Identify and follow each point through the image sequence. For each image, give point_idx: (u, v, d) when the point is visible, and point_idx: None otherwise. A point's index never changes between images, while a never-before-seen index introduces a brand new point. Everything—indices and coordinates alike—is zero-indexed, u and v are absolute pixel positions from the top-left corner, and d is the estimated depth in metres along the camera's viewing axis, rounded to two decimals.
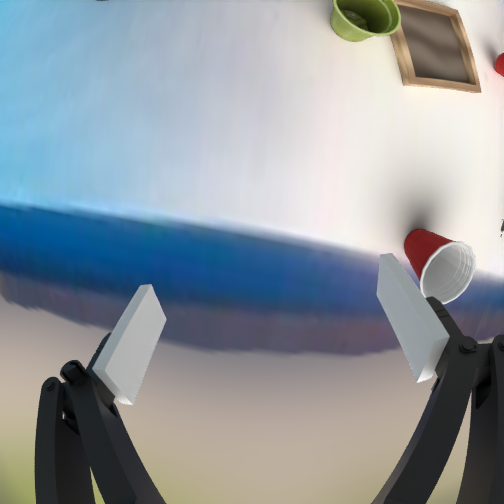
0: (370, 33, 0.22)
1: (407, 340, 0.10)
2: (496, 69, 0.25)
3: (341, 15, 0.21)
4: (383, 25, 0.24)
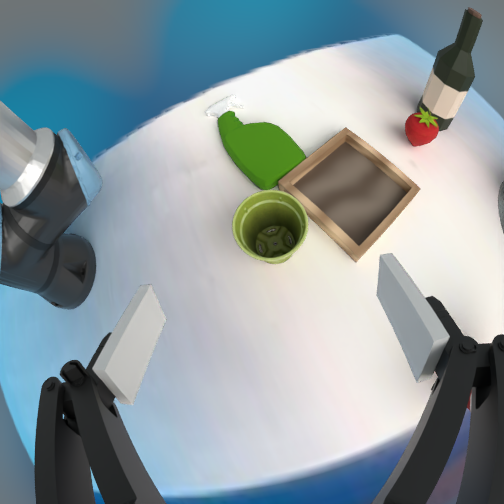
0: (288, 254, 0.32)
1: (407, 340, 0.10)
2: (414, 145, 0.42)
3: (253, 256, 0.33)
4: (298, 226, 0.36)
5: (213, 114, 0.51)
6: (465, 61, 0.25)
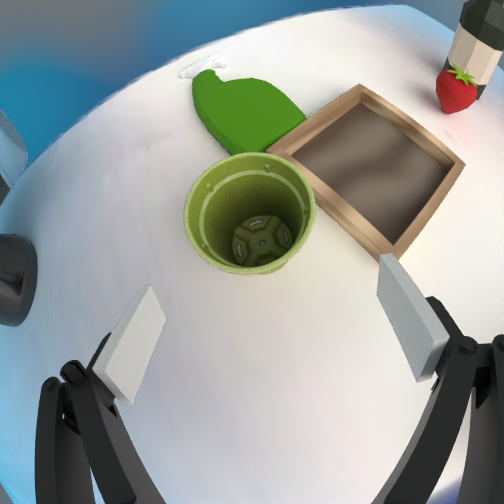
0: (279, 262, 0.17)
1: (407, 340, 0.10)
2: (447, 111, 0.27)
3: (217, 266, 0.18)
4: (297, 212, 0.22)
5: (189, 75, 0.36)
6: (499, 13, 0.11)
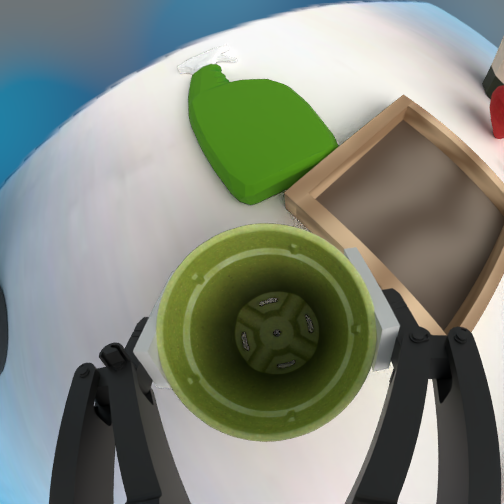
0: (313, 427, 0.09)
1: None
2: (500, 136, 0.19)
3: (214, 425, 0.10)
4: (336, 315, 0.13)
5: (188, 70, 0.28)
6: None
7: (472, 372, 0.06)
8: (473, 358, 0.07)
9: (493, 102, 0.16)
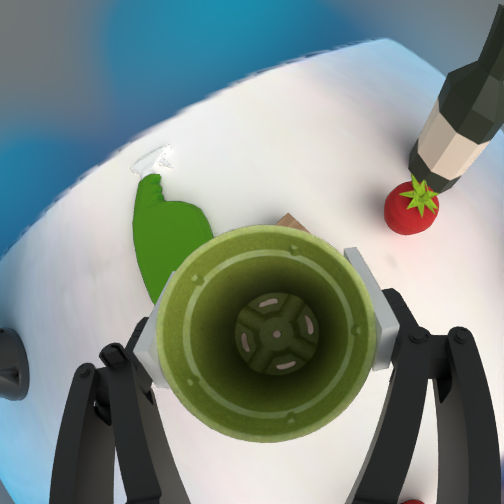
0: (312, 429, 0.09)
1: None
2: None
3: (213, 426, 0.10)
4: (336, 317, 0.13)
5: (138, 173, 0.40)
6: (496, 95, 0.14)
7: (472, 372, 0.06)
8: (473, 357, 0.07)
9: (384, 207, 0.28)
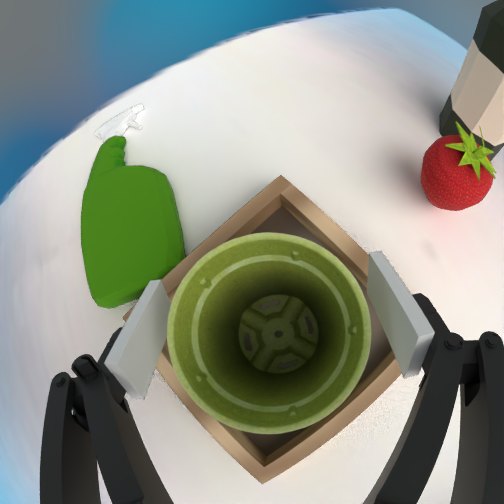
0: (312, 421, 0.10)
1: (394, 337, 0.11)
2: None
3: (221, 419, 0.11)
4: (334, 317, 0.14)
5: None
6: None
7: (499, 377, 0.05)
8: (501, 363, 0.06)
9: (422, 167, 0.17)
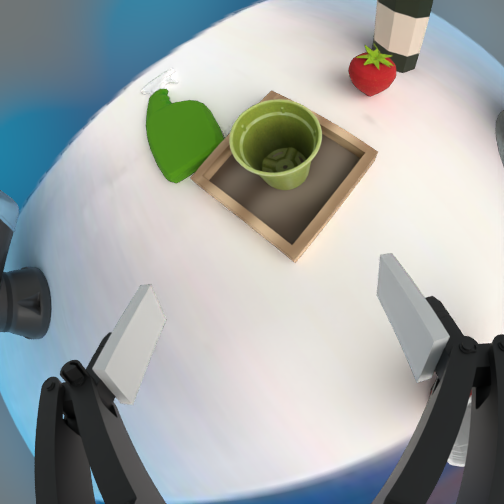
0: (304, 164, 0.24)
1: (407, 340, 0.10)
2: (368, 94, 0.32)
3: (261, 173, 0.25)
4: (309, 137, 0.28)
5: (148, 93, 0.42)
6: None
7: None
8: None
9: None
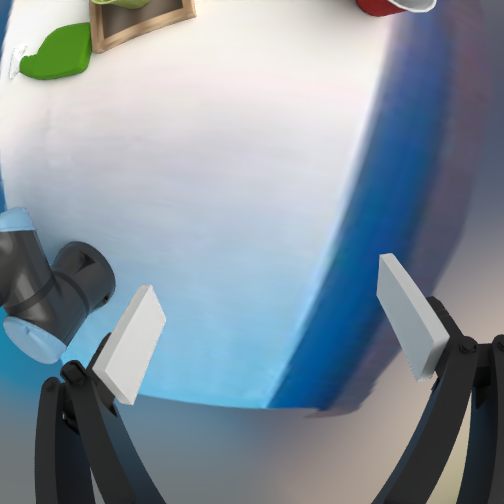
0: None
1: (407, 340, 0.10)
2: None
3: None
4: None
5: (15, 72, 0.29)
6: None
7: None
8: None
9: None
